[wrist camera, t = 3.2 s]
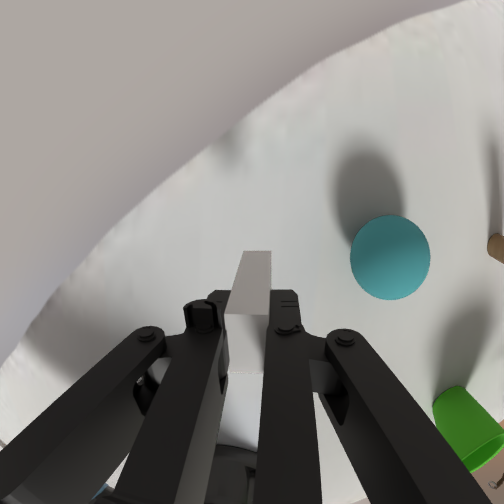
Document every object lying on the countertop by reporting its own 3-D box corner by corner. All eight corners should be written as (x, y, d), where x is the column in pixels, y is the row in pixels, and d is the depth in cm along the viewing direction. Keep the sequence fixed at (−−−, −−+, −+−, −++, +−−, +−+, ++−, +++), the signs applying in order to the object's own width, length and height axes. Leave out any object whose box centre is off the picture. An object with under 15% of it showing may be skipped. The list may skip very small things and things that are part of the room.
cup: (485, 375, 26) (521, 428, 16) (448, 421, 29) (473, 475, 18) (447, 370, 26) (486, 436, 15) (406, 421, 29) (429, 486, 18)
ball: (339, 280, 23) (358, 318, 17) (343, 207, 21) (368, 225, 15) (404, 278, 22) (435, 312, 17) (412, 209, 21) (451, 227, 15)
